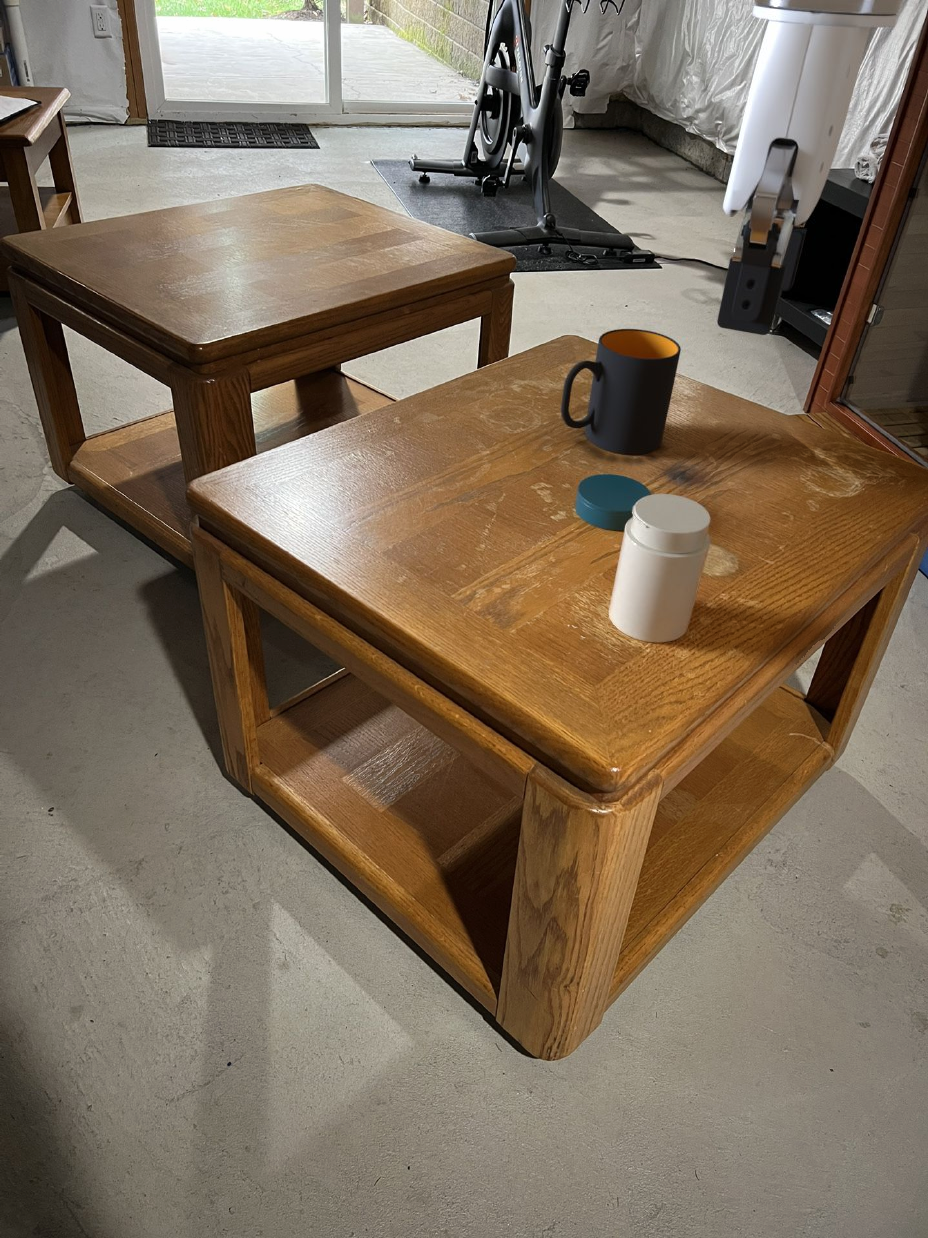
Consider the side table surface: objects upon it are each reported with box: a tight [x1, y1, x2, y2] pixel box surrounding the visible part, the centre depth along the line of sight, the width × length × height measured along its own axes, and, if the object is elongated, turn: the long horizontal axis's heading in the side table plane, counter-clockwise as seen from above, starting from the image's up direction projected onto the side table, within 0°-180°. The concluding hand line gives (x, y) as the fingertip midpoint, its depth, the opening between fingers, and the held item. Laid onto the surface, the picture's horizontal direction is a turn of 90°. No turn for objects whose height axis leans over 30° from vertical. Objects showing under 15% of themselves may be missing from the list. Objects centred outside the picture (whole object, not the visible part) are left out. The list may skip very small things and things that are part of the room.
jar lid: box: [574, 473, 652, 532], centre depth 87 cm, size 7×7×2 cm
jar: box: [608, 493, 712, 644], centre depth 72 cm, size 6×6×10 cm
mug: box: [560, 328, 682, 456], centre depth 97 cm, size 8×12×10 cm
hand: (755, 307), depth 60 cm, fingers open, 9 cm apart
